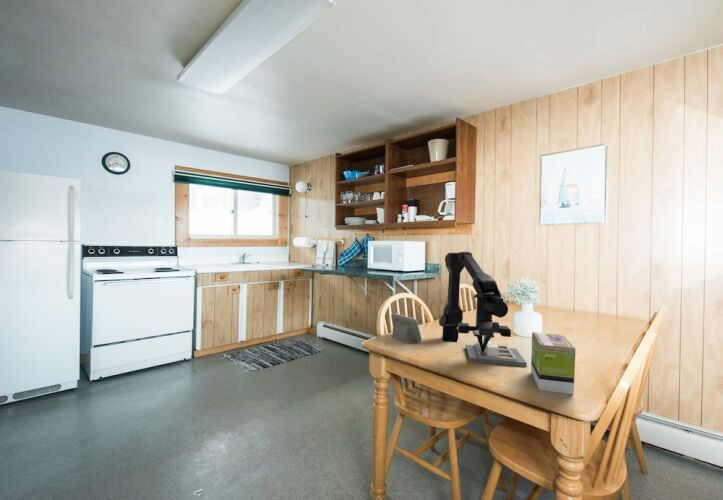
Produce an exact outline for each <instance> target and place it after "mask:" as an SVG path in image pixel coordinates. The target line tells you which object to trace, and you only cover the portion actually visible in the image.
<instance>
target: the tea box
mask: <svg viewBox="0 0 723 500" xmlns="http://www.w3.org/2000/svg"><path fill="white" fill-rule="evenodd" d="M530 360H531V363H530V371H531V374H532V377H533V379H534V381H535V384H536V387H537V388H538V390H539V391H542V392H543V391H544V392H550V393H551V392H552V393H556V394H557V393H559V394H566V395H574V394H575V393H574V391H575V371H576V370H575V369H576V347H574V345H573V344H572V343H571V342H570V341H569V340H568V339H567V337H565V336H564V335H563V334H560V333H559V334H558V333H557V334H556V333H547V332H543V333H542V332H533V331H532V333H531V359H530Z"/></svg>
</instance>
